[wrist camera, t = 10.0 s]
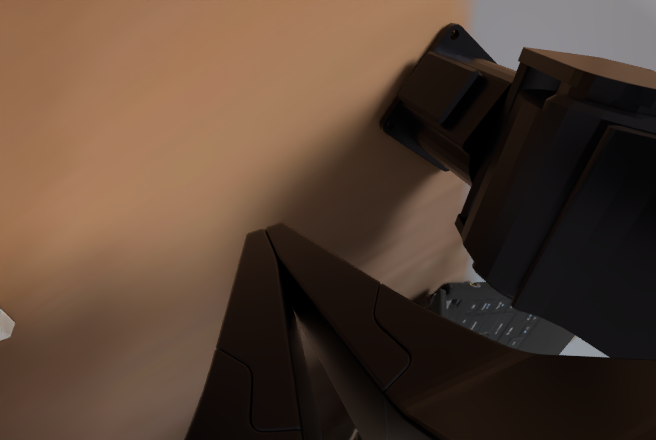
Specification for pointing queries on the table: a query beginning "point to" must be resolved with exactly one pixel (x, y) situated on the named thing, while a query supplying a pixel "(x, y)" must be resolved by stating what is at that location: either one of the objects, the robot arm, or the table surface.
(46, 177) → the table surface
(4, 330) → the grey and white holder
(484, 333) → the laptop
